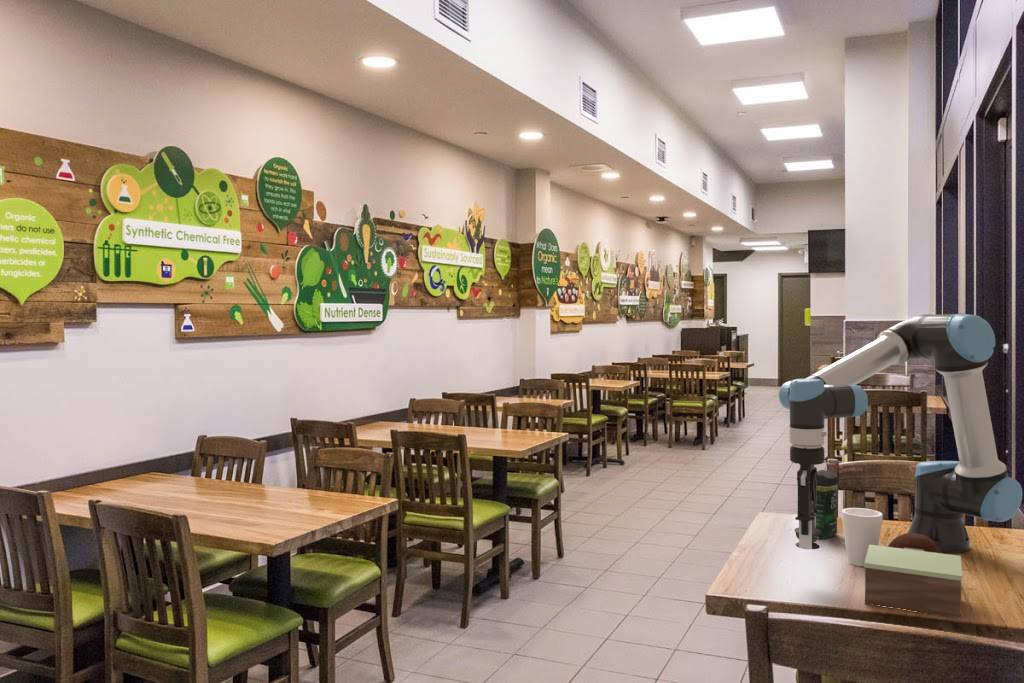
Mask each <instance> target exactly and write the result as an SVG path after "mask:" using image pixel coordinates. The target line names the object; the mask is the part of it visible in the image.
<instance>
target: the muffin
mask: <svg viewBox="0 0 1024 683" xmlns="http://www.w3.org/2000/svg"><path fill="white" fill-rule="evenodd" d="M887 547H893V548H901V549H904V547H905V548H913V549H921V550H924V551H925V552H933V553H941V554H943V552H941V551H940V549H939V548H938V546H937V545H936V544H935V542H934V541H933V540H932V539H930V538H928V537H927V536H925V535H921V534H917V533H908V532H907V533H902V534H901V535H900V534H899V535H898V536H896V537H895V538H893V539H892V540H891V541H890V543H889V544H888V545H887Z"/></svg>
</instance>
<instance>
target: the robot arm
mask: <svg viewBox="0 0 1024 683" xmlns="http://www.w3.org/2000/svg"><path fill="white" fill-rule="evenodd" d="M995 336H996V335H995V333H994V330H993V328H992V327H991V325H990V323H989V322H988V321H987V320H986V319H984V318H982V317H981V316H979V315H975V314H966V313H960V312H959V313H952V314H951V313H941V314H940V313H939V314H921V315H916V316H914V317H911V318H910V317H909V318H908V319H906V320H903V321H901V322H898V323H897V324H895V325H892V326H891V327H889V328H887V329H884V331H880V333H879V334H877V336H876V339H875V340H873V341H871V342H870V343H868V344H865V345H864V346H863V347H861V348H858V349H856V350H855V351H853V352H851V353H849V354H847V355H846V356H844V357H842V358H841V359H839V360H837V361H835V362H833V363H831V364H829V365H828V366H826V367H823V368H822V369H820V370H818V371H816V372H815V373H813V374H811V375H809V376H807V377H805V378H795V379H793V380H788V381H786V382H784V383H783V384H782V385H781V387H780V388H779V392H778V398H779V402H780V404H781V405H782V407H784V408H785V409H786V410H789V443H790V444H791V445H790V447H789V461H790V462H791V463H794V464H798V465H799V468H798V470H796V471H797V472H796V481H797V515H796V516H795V517H794V520H796V521H798V528H799V539H798V542H799V547H798V548H799V549H803V548H805V549H804V550H813V549H812V520H811V500H813V502H814V513H819V509H816V508H817V491H816V485H817V480H816V477H817V471H818V469H817V467H815V466H816V465H822V464H824V463H825V448H824V444H825V437H827V436H828V433H827V432H826V431H825V421H826V420H828V419H839V418H848V419H849V418H850V419H851V418H854V417H859V416H861V415H863V414H864V413H865V412H866V411H867V409H868V406H869V405H868V404H869V400H868V399H869V397H868V395H867V393H866V392H867V391H866V390H865V389H863V388H862V387H861V386H859V385H858V384H860V383H862V382H863V381H865V380H867V379H868V378H870V377H872V376H875V375H876V374H878V373H879V372H882V371H883V370H885V369H886V368H888V367H890V366H892V365H898V366H899V365H903V364H904V363H906V362H907V361H911V360H919V359H921V360H922V359H923V360H924V359H926V360H933V363H934V369H935V371H936V372H937V373H939V374H940V375H942V376H943V380H944V386H945V390H946V395H947V396H946V397H947V401H948V406H949V407H948V408H949V412H950V417H951V422H952V428H953V432H954V439H955V443H956V448H957V455H958V460H959V461H957V460H933V461H931V460H930V461H928V460H927V461H922V462H918V463H917V464H916V466H915V471H914V472H915V475H914V515H913V519H912V521H911V523H910V526H909V530H908V531H907V533H917V534H921V535H925V536H927V537H928V538H930V539H932V540H933V541H934V542H935V544H936V545H937V546H938V548H939V549H940V551H941V552H942V553H963V552H968V551H970V549H971V540H970V537H969V534H968V531H967V528H966V525H965V522H964V515H966V516H971V517H974V518H977V519H978V518H979V519H982V520H984V521H986V522H987V521H990V522H991V521H992V522H996V523H1002V522H1004V523H1005V522H1007V521H1008V520H1010V519H1012V518H1013V517H1014V516H1015V515H1016V514H1017V512H1018V509H1019V508H1020V507H1021V504H1022V501H1023V488H1022V485H1021V484H1020V482H1019V481H1018V480H1017V479H1015V478H1012V477H1009V473H1008V469H1007V465H1006V464H1005V462H1003V461H1001V460H999V458H998V457H999V456H998V453H997V452H998V451H997V448H996V440H995V435H994V430H993V425H992V424H993V423H992V418H991V415H990V414H991V412H990V406H989V402H988V397H987V393H986V392H987V391H986V386H985V381H984V374H983V370H984V369H985V368H986V367H987V366H988V364H989V362H988V360H989V359H990V358H991V357H992V356H993V354H994V351H995V350H994V348H995V347H996V337H995ZM815 515H816V514H815ZM814 518H815V528H816V516H815V517H814Z"/></svg>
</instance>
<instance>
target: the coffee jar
mask: <svg viewBox="0 0 1024 683" xmlns="http://www.w3.org/2000/svg"><path fill="white" fill-rule="evenodd" d="M838 478H839V476H838V474H837V473H835V471H832V470H827V469H826V470H825V469H820V470H817V477H816V480H817V485H816V491H817V508H816V509H819V513H814V514H816V529H818V530H820V531H821V533H820V536H819V538H820V539H823V538H824V539H830V538H832V537H834V536H836V535H837V533H838V512H837V511H838V510H837V508H838V501H837V500H838V487H839V479H838Z"/></svg>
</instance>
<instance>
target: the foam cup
mask: <svg viewBox="0 0 1024 683" xmlns="http://www.w3.org/2000/svg"><path fill="white" fill-rule="evenodd" d="M883 517H884V516H883V513H882V512H881V511H878V510H876V509H870V508H864V507H863V508H861V507H847V508H843V509H842V510H841V521H842V527H843V535H844V542H845V544H844V545H845V550H846V558H847V562H848V564H850V563H851V564H850V565H852V564H853V565H852V566H855V565H858V566H857V567H861V566H864V562H865V559H866V555H867V552H868V548H869V545H877V546H879V543H880V537H881V530H882V524H883V522H884V521H883Z"/></svg>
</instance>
